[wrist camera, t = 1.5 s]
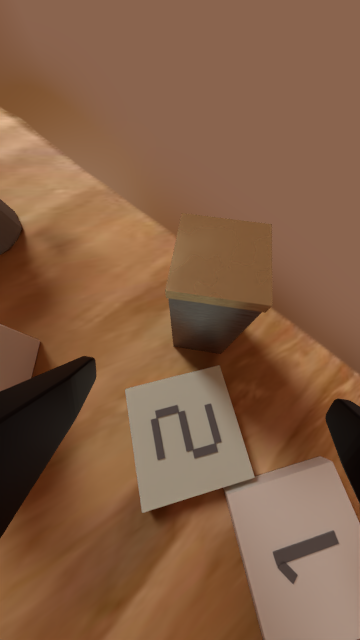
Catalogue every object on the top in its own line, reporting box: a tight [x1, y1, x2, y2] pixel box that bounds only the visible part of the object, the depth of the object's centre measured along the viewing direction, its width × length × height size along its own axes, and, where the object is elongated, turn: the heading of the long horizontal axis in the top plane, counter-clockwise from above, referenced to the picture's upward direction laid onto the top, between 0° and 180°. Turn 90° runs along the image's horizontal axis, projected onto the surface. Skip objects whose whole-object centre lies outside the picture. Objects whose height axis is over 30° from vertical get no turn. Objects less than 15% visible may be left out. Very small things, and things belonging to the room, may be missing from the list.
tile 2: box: [125, 365, 255, 513], centre depth 17 cm, size 9×9×2 cm
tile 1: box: [223, 456, 360, 640], centre depth 15 cm, size 9×9×2 cm
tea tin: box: [165, 213, 272, 354], centre depth 16 cm, size 5×5×12 cm
